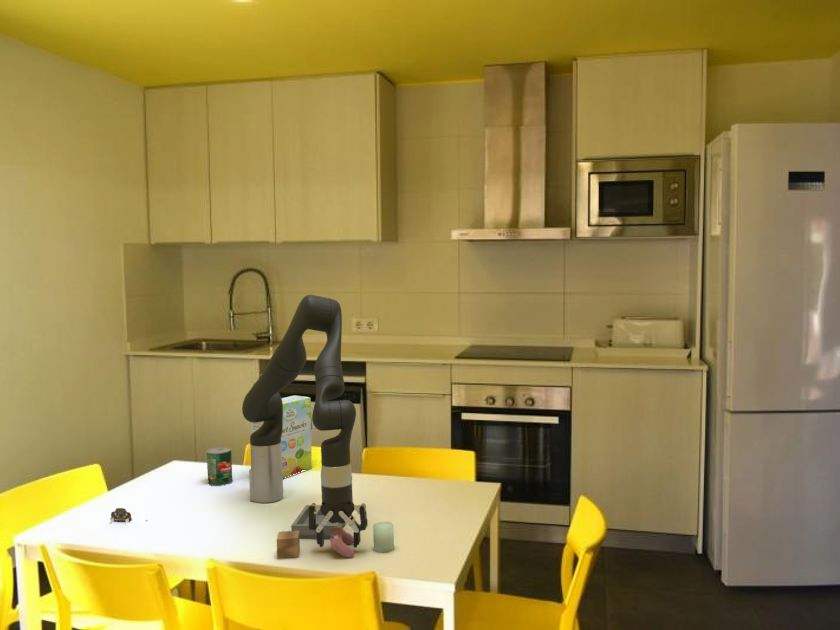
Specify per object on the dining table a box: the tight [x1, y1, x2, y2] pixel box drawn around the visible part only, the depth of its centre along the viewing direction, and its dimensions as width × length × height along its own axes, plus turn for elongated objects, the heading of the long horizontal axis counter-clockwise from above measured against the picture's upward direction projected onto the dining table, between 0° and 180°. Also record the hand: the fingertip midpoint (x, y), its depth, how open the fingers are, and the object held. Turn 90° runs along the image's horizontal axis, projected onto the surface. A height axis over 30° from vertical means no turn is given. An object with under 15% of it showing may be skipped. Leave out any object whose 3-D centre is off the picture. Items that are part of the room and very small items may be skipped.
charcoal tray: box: [290, 504, 347, 540], centre depth 194 cm, size 12×16×4 cm
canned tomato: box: [206, 446, 233, 487], centre depth 238 cm, size 8×8×11 cm
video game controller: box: [329, 526, 355, 559], centre depth 178 cm, size 10×5×7 cm, turn 5°
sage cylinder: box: [372, 521, 395, 554], centre depth 179 cm, size 5×5×6 cm
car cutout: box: [109, 507, 133, 525], centre depth 202 cm, size 15×7×4 cm, turn 80°
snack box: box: [249, 395, 313, 479], centre depth 244 cm, size 22×9×26 cm, turn 147°
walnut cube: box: [276, 530, 301, 560], centre depth 177 cm, size 5×5×5 cm
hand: (338, 546), depth 178 cm, fingers open, 8 cm apart
